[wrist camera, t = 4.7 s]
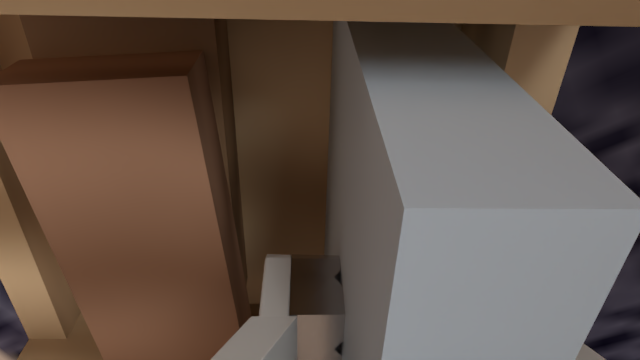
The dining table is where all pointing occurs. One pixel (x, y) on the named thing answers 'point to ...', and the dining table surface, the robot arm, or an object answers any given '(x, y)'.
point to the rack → (272, 121)
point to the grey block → (461, 205)
